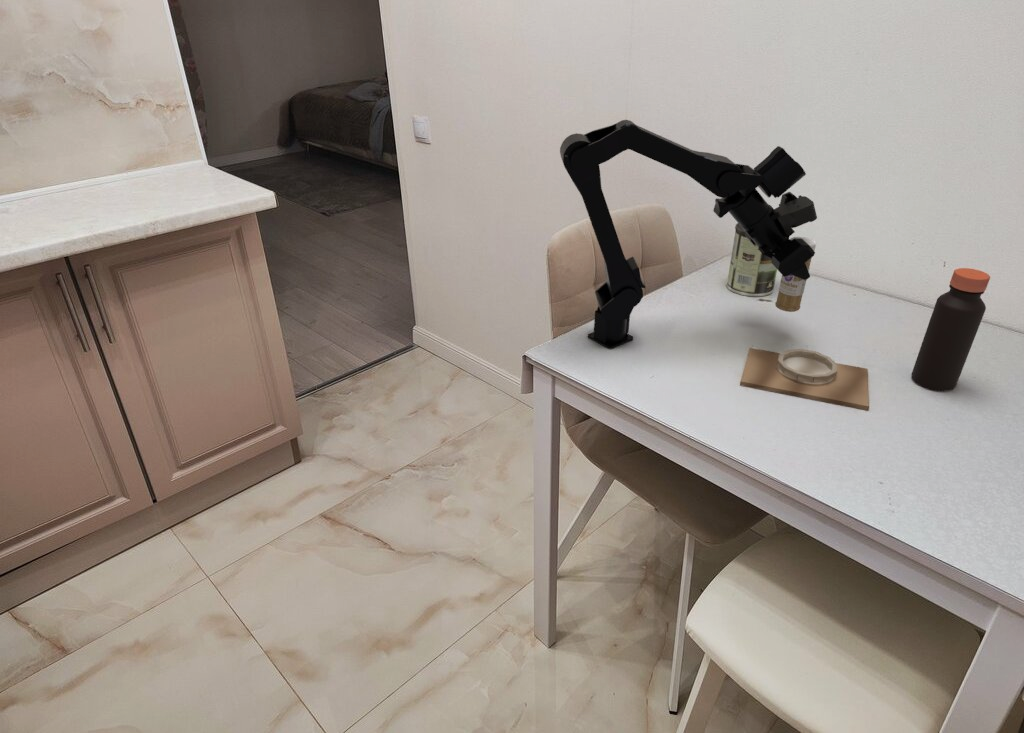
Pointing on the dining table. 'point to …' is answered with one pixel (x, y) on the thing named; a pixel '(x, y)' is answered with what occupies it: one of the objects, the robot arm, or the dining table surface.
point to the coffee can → (749, 268)
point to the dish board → (807, 377)
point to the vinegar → (951, 331)
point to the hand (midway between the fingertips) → (802, 273)
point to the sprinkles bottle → (793, 286)
